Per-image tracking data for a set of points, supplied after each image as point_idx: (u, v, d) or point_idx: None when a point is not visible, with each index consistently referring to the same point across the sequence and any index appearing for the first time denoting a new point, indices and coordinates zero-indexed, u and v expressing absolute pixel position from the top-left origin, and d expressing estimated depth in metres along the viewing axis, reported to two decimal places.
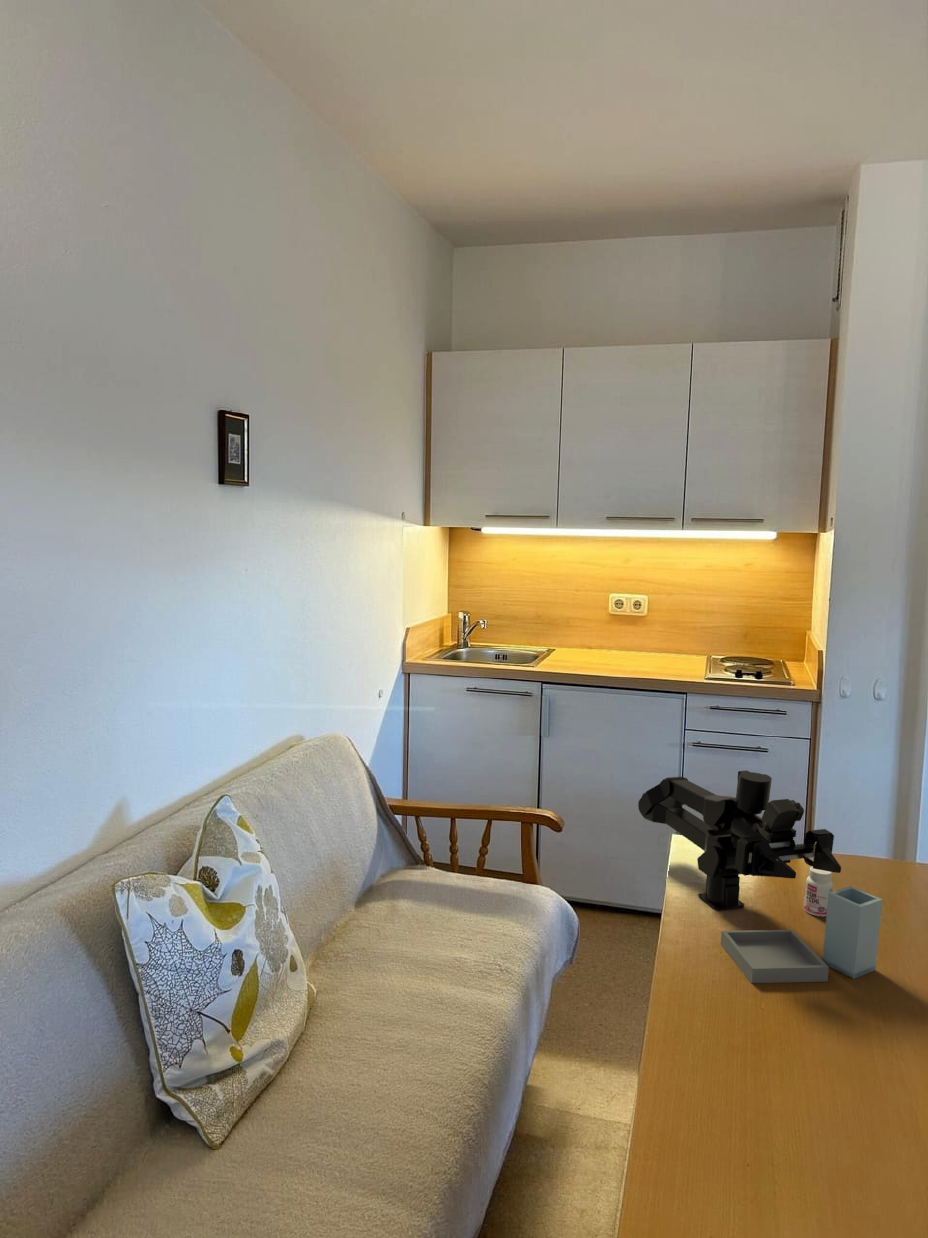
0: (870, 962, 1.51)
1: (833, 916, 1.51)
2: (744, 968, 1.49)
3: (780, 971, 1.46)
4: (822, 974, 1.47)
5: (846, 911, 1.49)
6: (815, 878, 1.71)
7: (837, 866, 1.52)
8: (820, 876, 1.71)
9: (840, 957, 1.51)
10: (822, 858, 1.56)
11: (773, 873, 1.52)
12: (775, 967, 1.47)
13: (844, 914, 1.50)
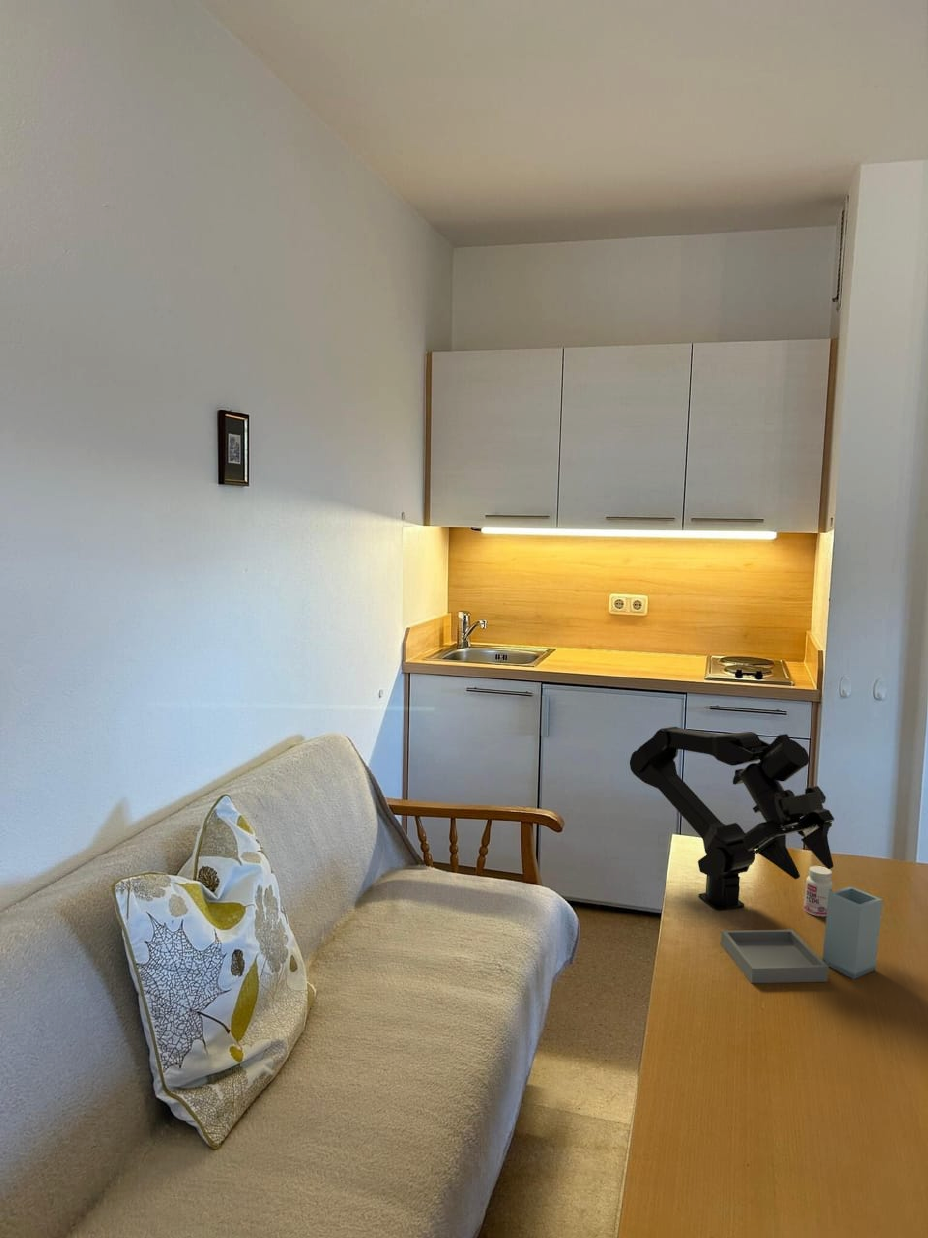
0: (870, 962, 1.51)
1: (833, 916, 1.51)
2: (744, 968, 1.49)
3: (780, 971, 1.46)
4: (822, 974, 1.47)
5: (846, 911, 1.49)
6: (815, 878, 1.71)
7: (830, 864, 1.60)
8: (820, 876, 1.71)
9: (840, 957, 1.51)
10: (817, 844, 1.63)
11: (777, 862, 1.57)
12: (775, 967, 1.47)
13: (844, 914, 1.50)
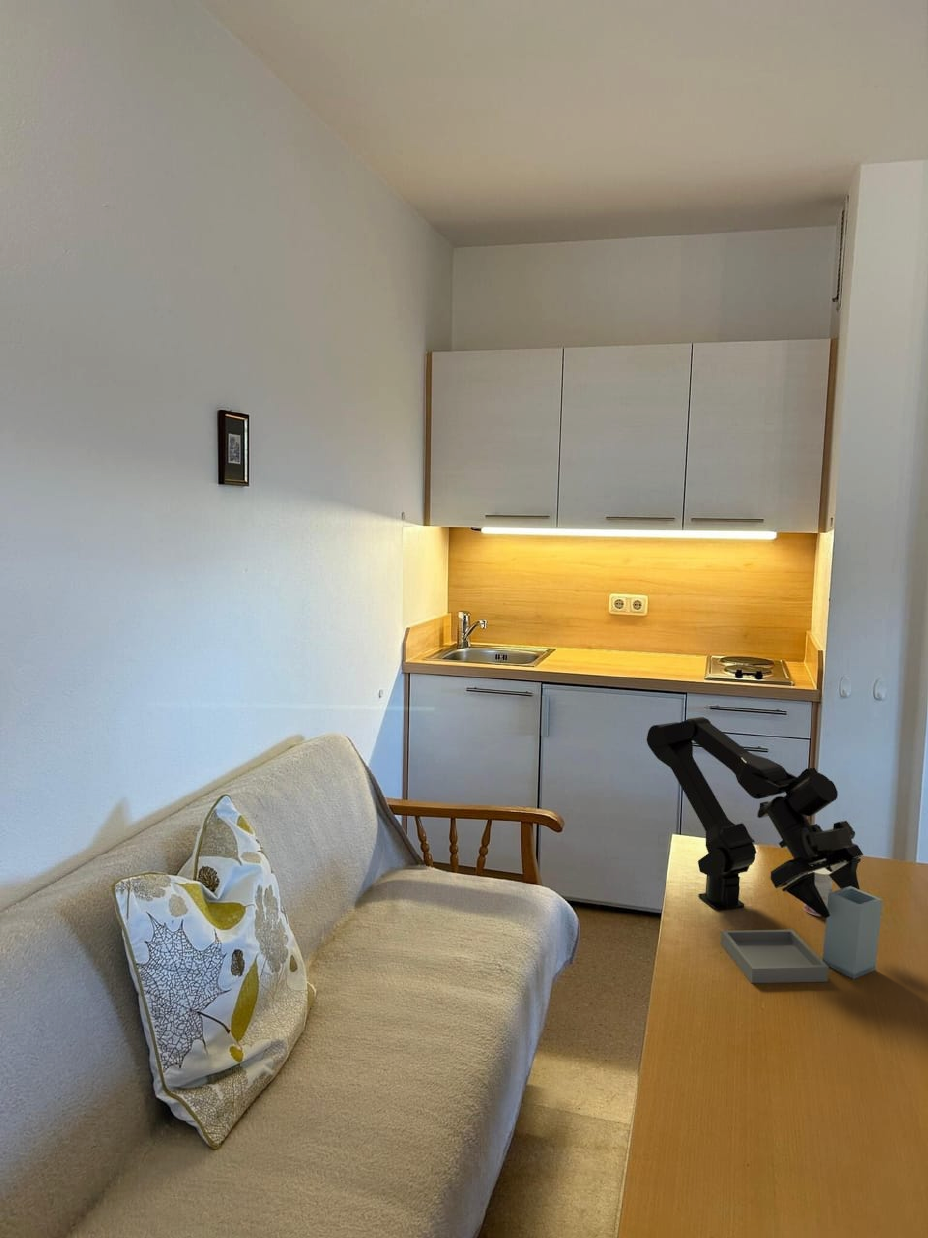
0: (870, 962, 1.51)
1: (833, 916, 1.51)
2: (744, 968, 1.49)
3: (780, 971, 1.46)
4: (822, 974, 1.47)
5: (846, 911, 1.49)
6: (815, 878, 1.71)
7: None
8: (820, 876, 1.71)
9: (840, 957, 1.51)
10: (846, 880, 1.58)
11: (805, 901, 1.53)
12: (775, 967, 1.47)
13: (844, 914, 1.50)
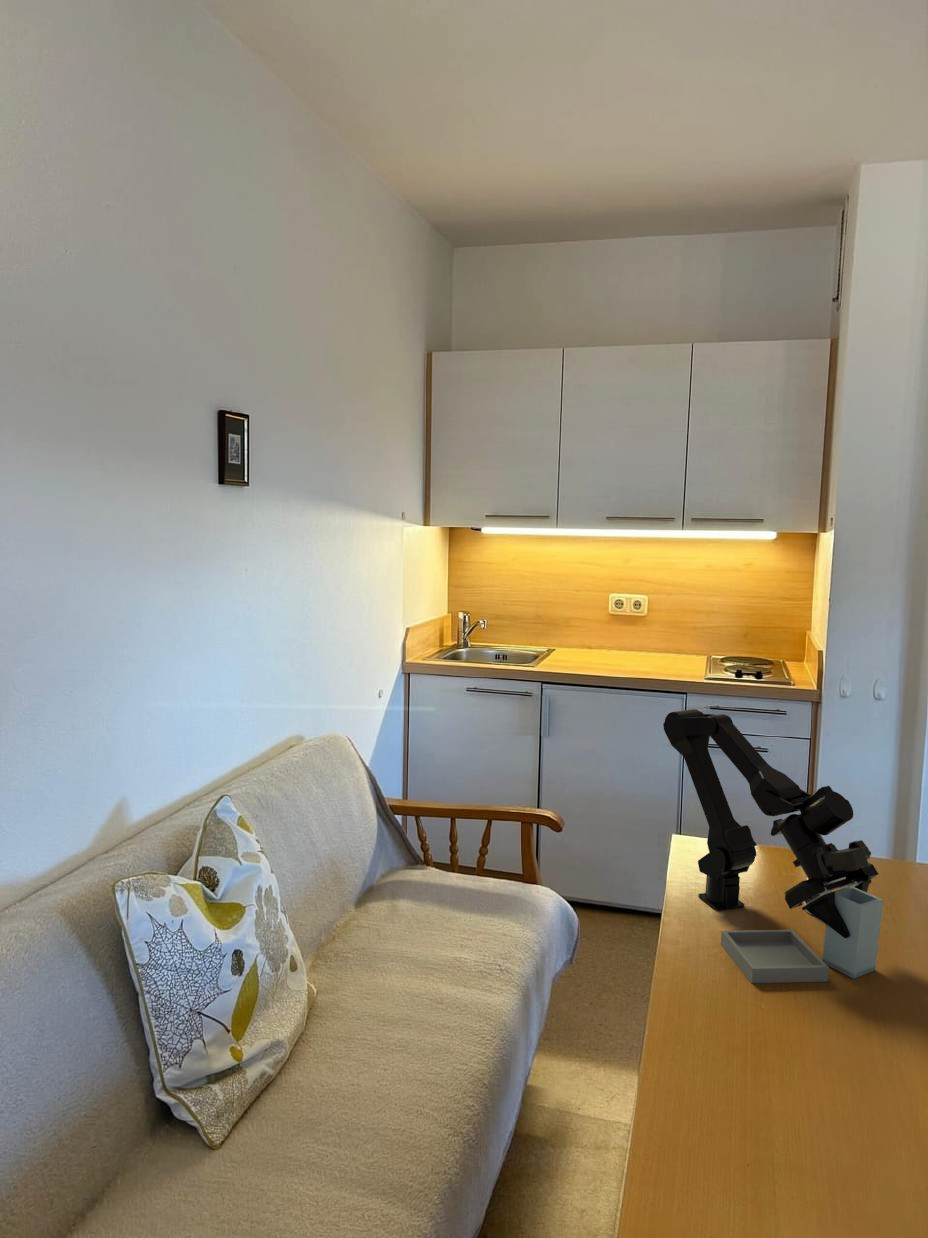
0: (870, 962, 1.51)
1: None
2: (744, 968, 1.49)
3: (780, 971, 1.46)
4: (822, 974, 1.47)
5: (847, 911, 1.49)
6: None
7: None
8: None
9: (840, 957, 1.51)
10: None
11: (825, 920, 1.51)
12: (775, 967, 1.47)
13: (845, 914, 1.50)
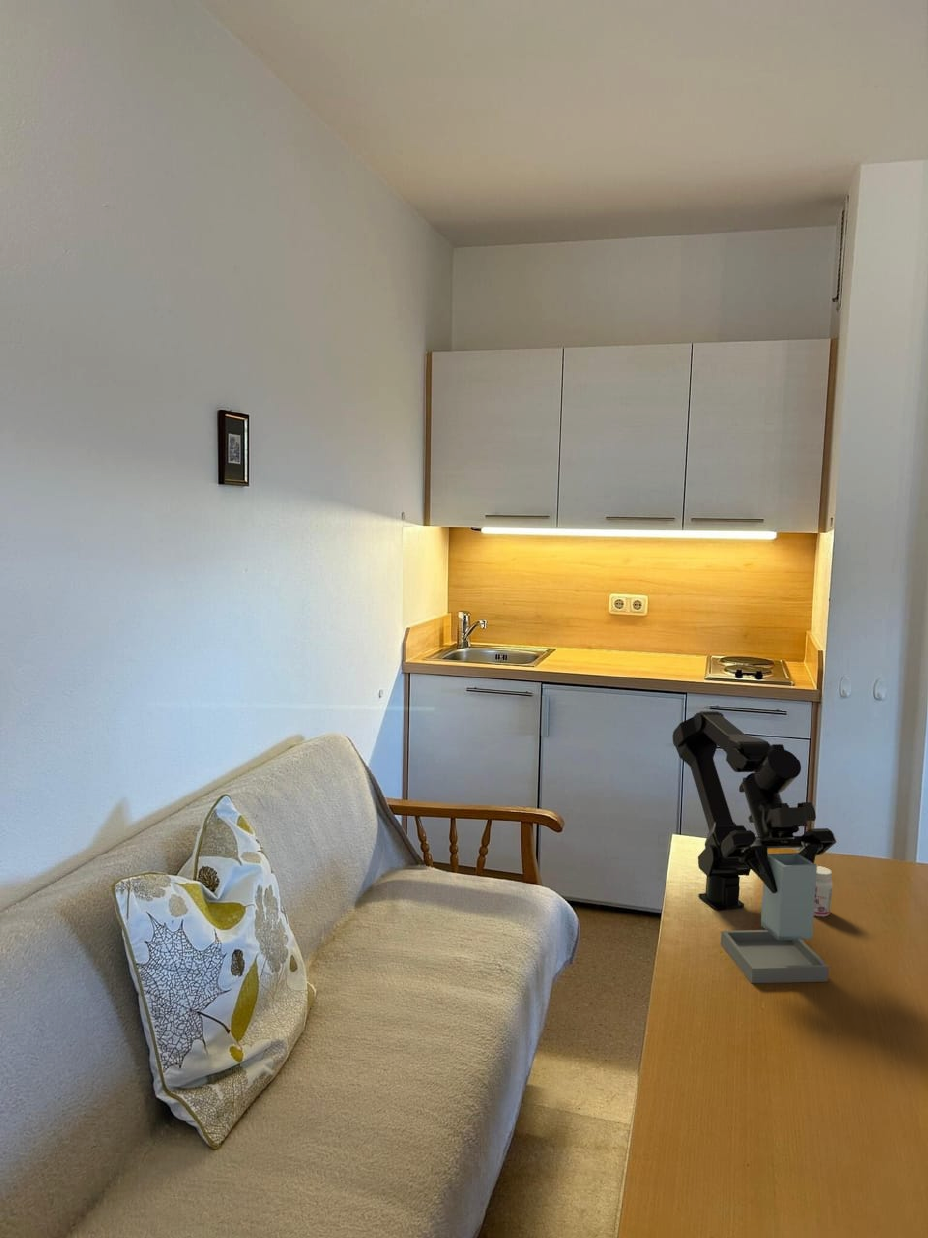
0: (803, 928, 1.49)
1: None
2: (744, 968, 1.49)
3: (780, 971, 1.46)
4: (822, 974, 1.47)
5: (775, 871, 1.50)
6: None
7: None
8: (820, 876, 1.71)
9: (771, 919, 1.51)
10: None
11: (758, 874, 1.52)
12: (775, 967, 1.47)
13: (773, 875, 1.50)
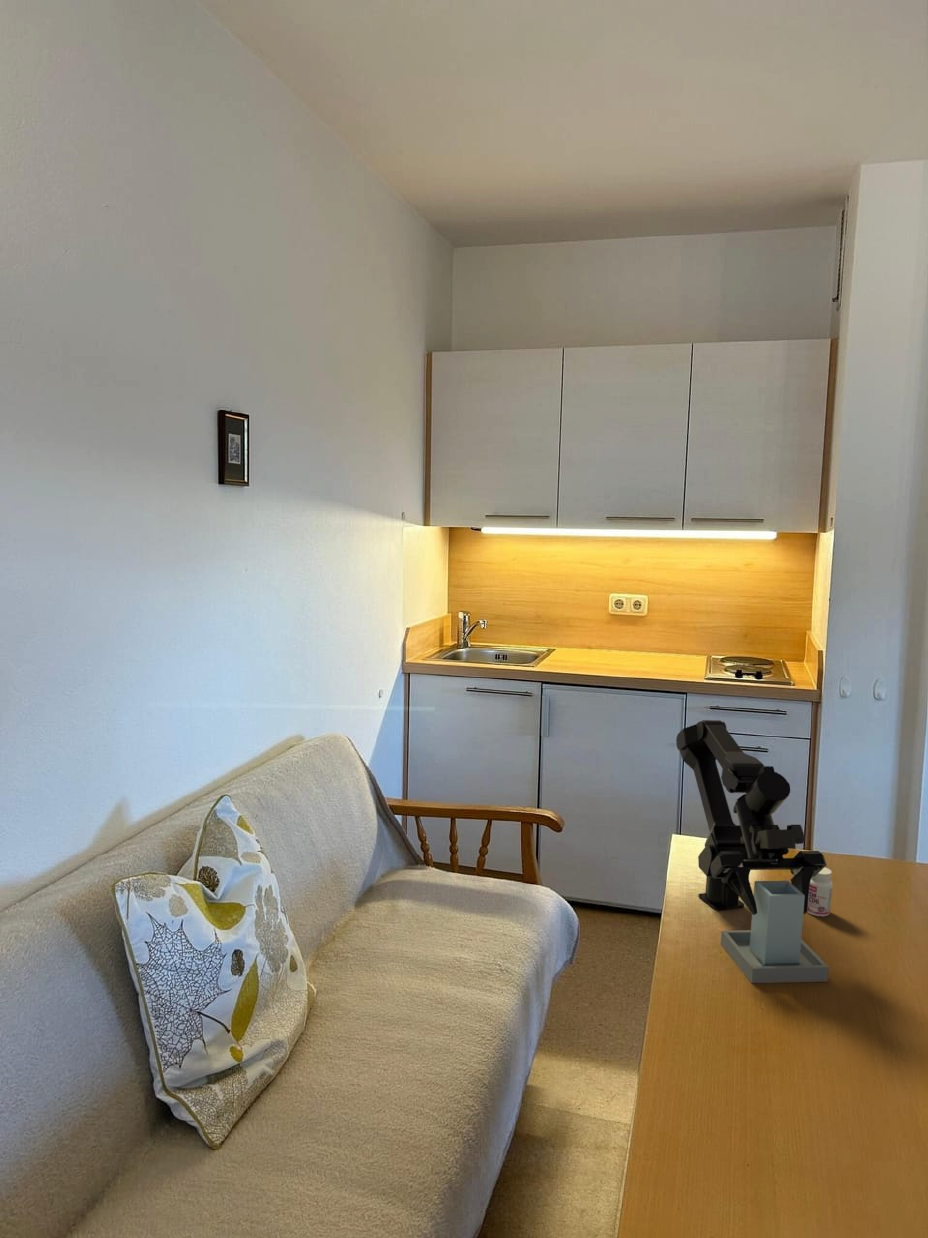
0: (790, 957, 1.50)
1: (756, 904, 1.53)
2: (744, 968, 1.49)
3: (780, 971, 1.46)
4: (822, 974, 1.47)
5: (762, 899, 1.51)
6: (815, 878, 1.71)
7: (804, 909, 1.51)
8: (820, 876, 1.71)
9: (758, 945, 1.52)
10: (798, 886, 1.54)
11: (740, 895, 1.53)
12: (775, 967, 1.47)
13: (761, 902, 1.51)
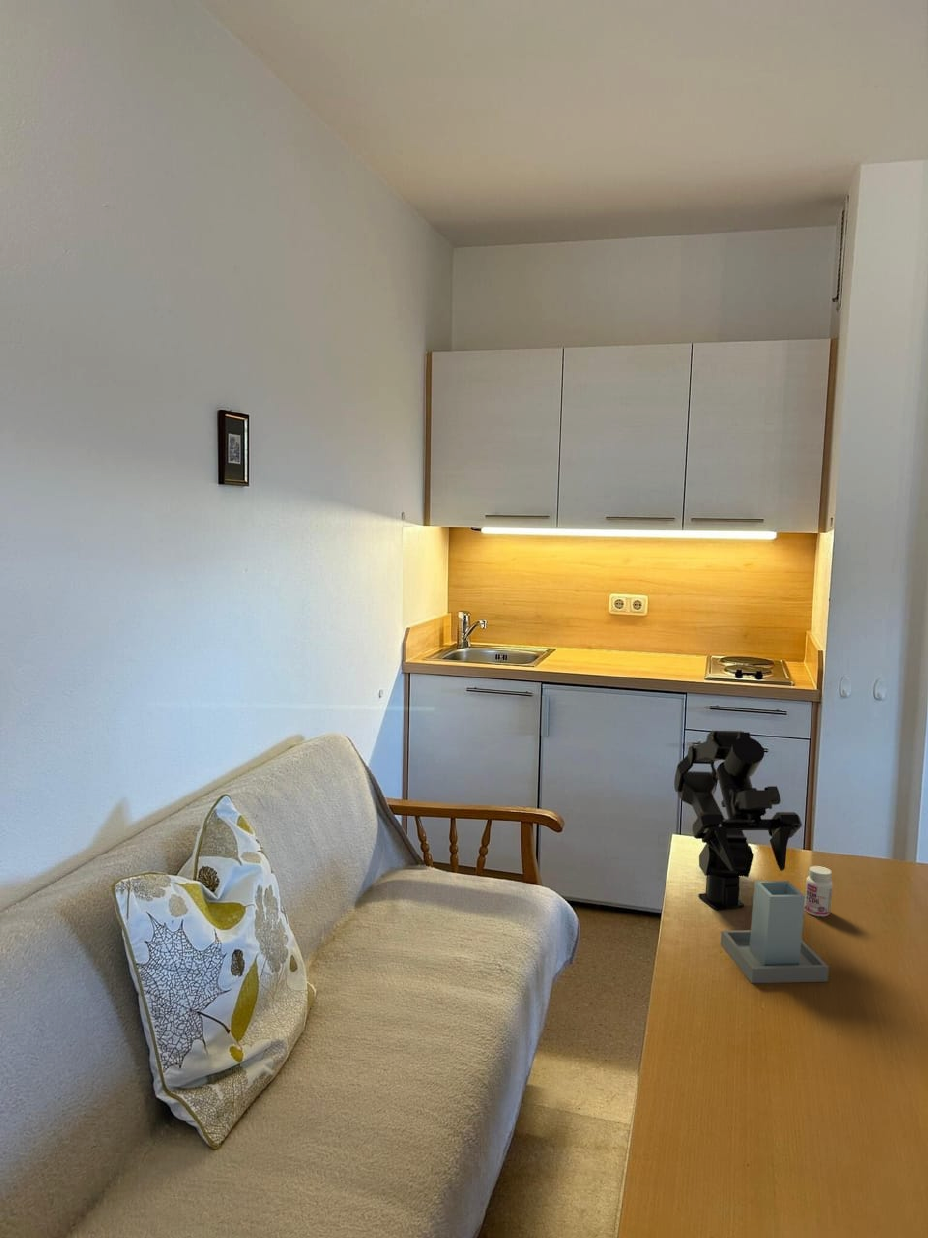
0: (790, 957, 1.50)
1: (756, 904, 1.53)
2: (744, 968, 1.49)
3: (780, 971, 1.46)
4: (822, 974, 1.47)
5: (763, 900, 1.51)
6: (815, 878, 1.71)
7: (781, 866, 1.60)
8: (820, 876, 1.71)
9: (758, 946, 1.52)
10: (777, 845, 1.63)
11: (719, 853, 1.62)
12: (775, 967, 1.47)
13: (761, 903, 1.51)
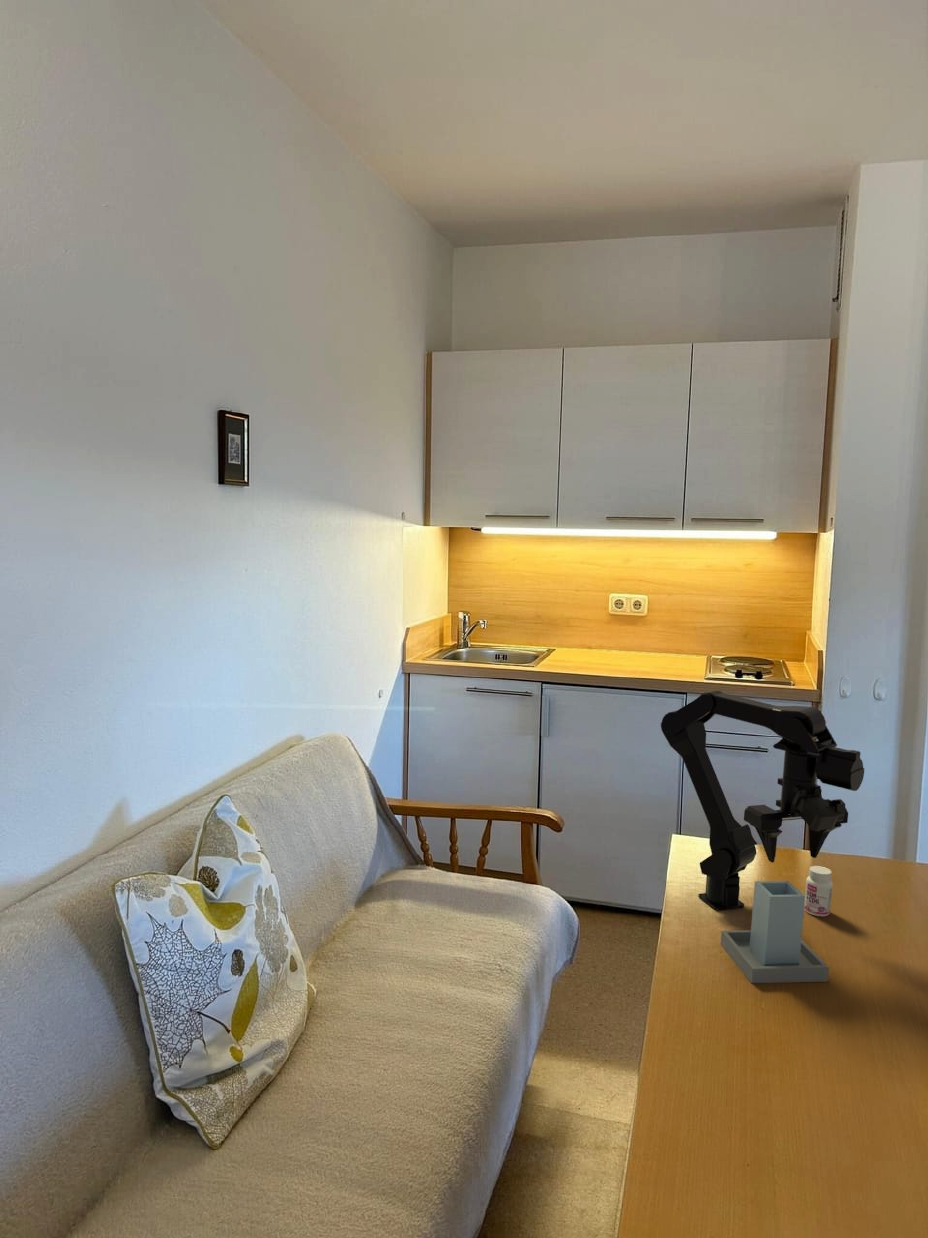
0: (790, 957, 1.50)
1: (756, 904, 1.53)
2: (744, 968, 1.49)
3: (780, 971, 1.46)
4: (822, 974, 1.47)
5: (763, 900, 1.51)
6: (815, 878, 1.71)
7: (814, 855, 1.66)
8: (820, 876, 1.71)
9: (758, 946, 1.52)
10: (816, 833, 1.66)
11: (762, 840, 1.64)
12: (775, 967, 1.47)
13: (761, 903, 1.51)
